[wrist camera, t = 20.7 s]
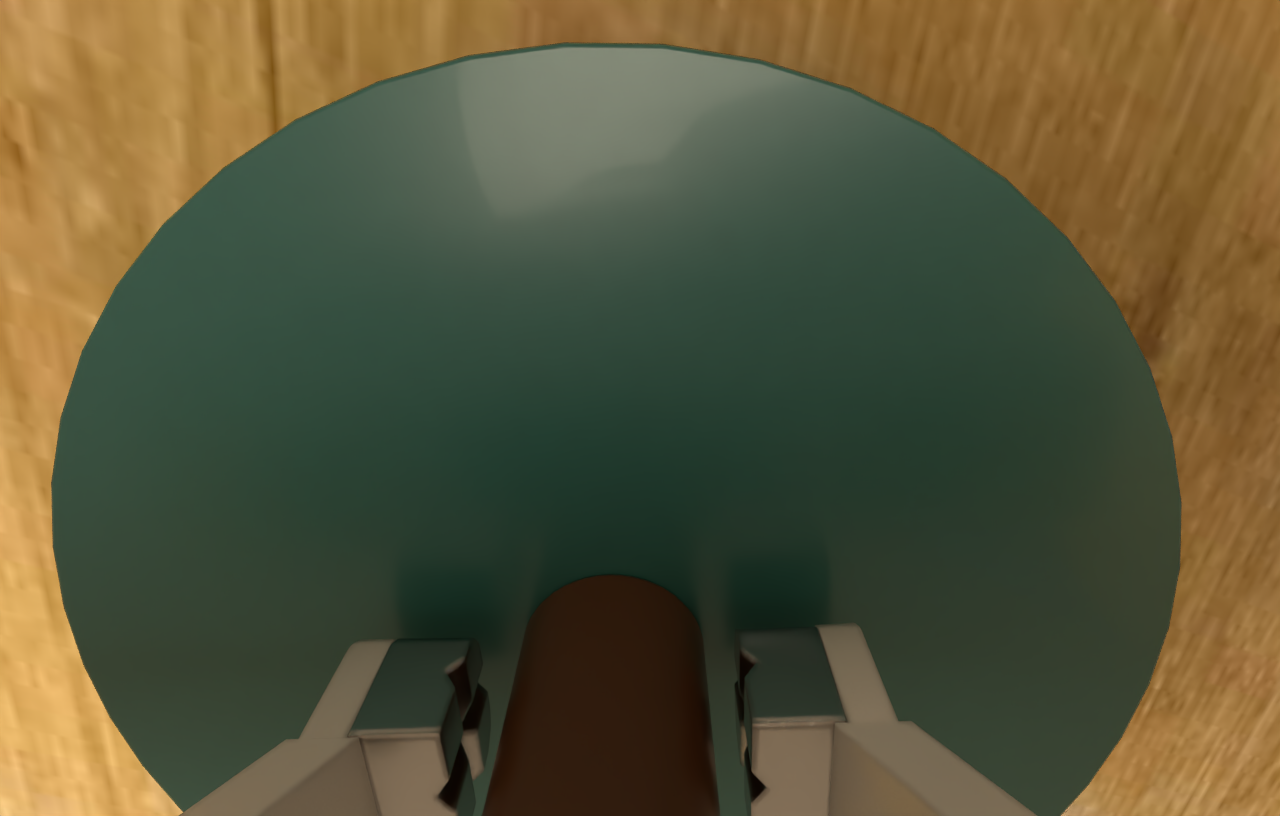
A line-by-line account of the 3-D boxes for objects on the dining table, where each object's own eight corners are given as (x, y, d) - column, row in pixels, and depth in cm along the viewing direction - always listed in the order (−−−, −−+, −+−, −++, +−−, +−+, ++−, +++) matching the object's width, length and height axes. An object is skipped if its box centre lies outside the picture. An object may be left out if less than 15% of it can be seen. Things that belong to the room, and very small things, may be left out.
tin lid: (-66, 87, 8) (-1185, 68, 3) (1252, 10, 8) (2349, -154, 3) (253, 933, 14) (21, 1421, 9) (1044, 915, 14) (1287, 1419, 8)
